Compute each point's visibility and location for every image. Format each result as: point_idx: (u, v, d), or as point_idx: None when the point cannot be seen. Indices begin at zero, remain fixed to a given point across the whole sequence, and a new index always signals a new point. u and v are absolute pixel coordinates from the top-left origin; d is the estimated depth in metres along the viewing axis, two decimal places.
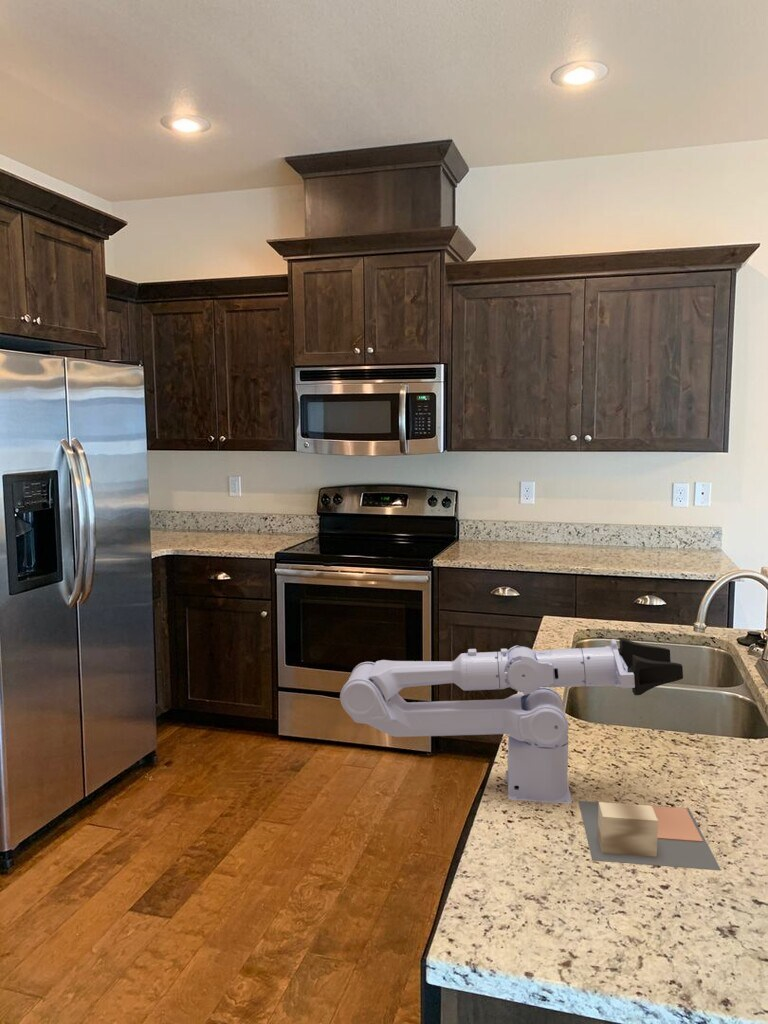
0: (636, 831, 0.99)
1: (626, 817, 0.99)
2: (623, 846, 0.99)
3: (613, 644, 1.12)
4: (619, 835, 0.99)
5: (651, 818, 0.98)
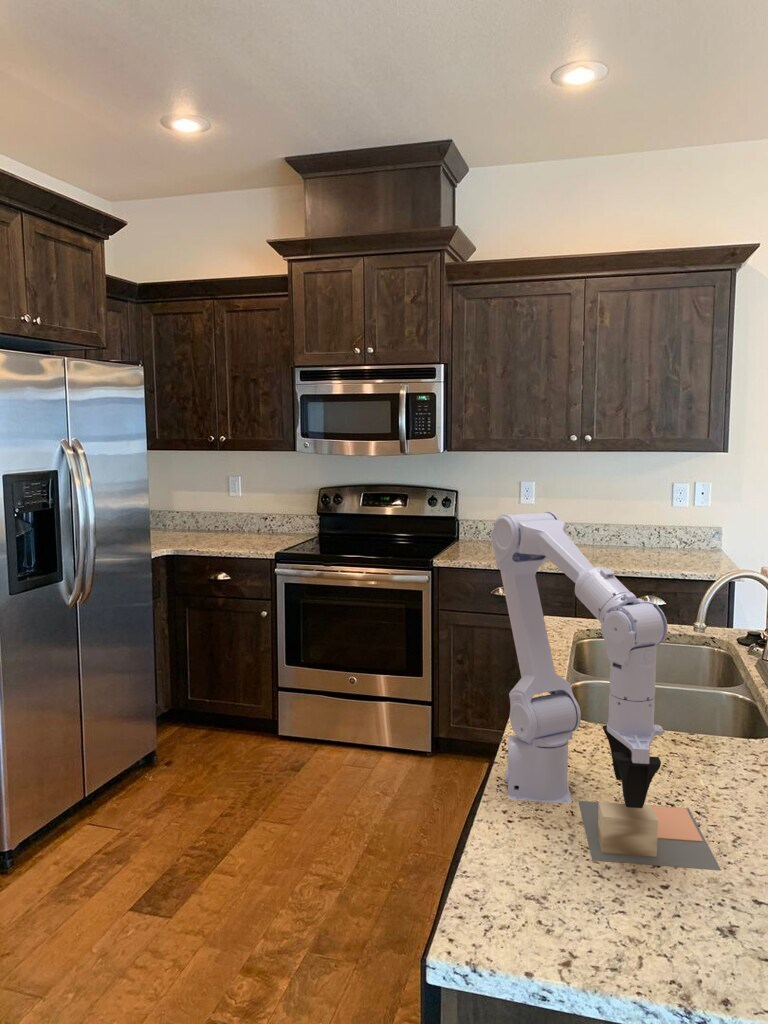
0: (636, 831, 0.99)
1: (626, 817, 0.99)
2: (623, 846, 0.99)
3: (660, 731, 0.98)
4: (619, 835, 0.99)
5: (651, 818, 0.98)
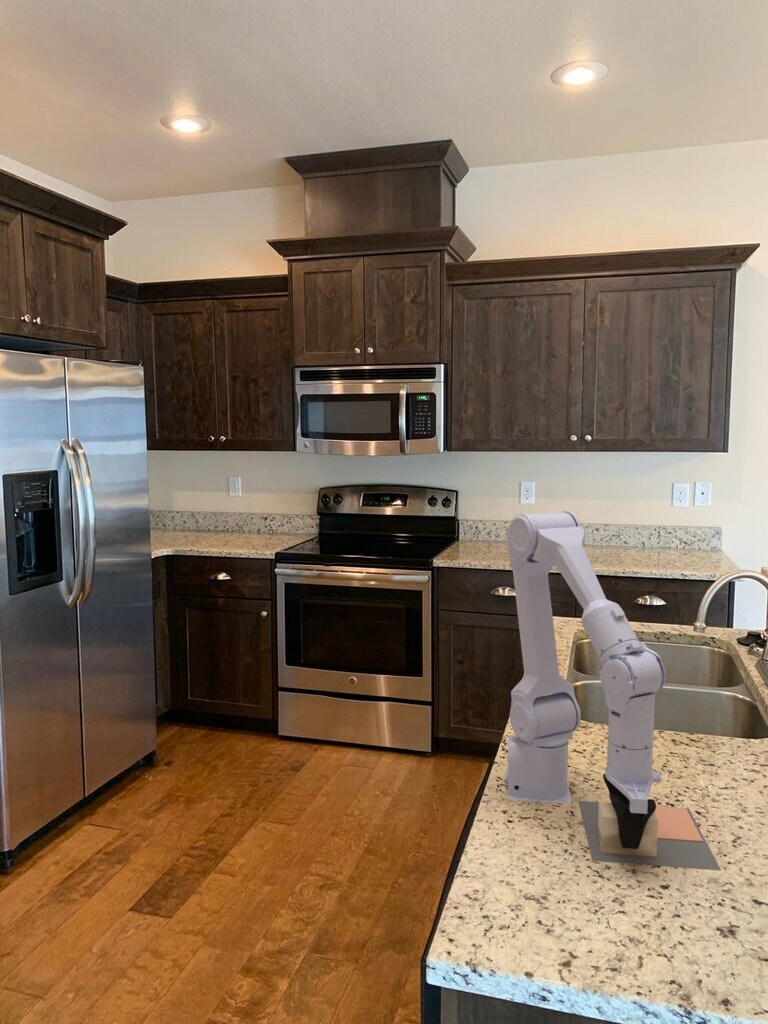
0: None
1: None
2: None
3: (658, 779, 0.98)
4: None
5: (651, 818, 0.98)
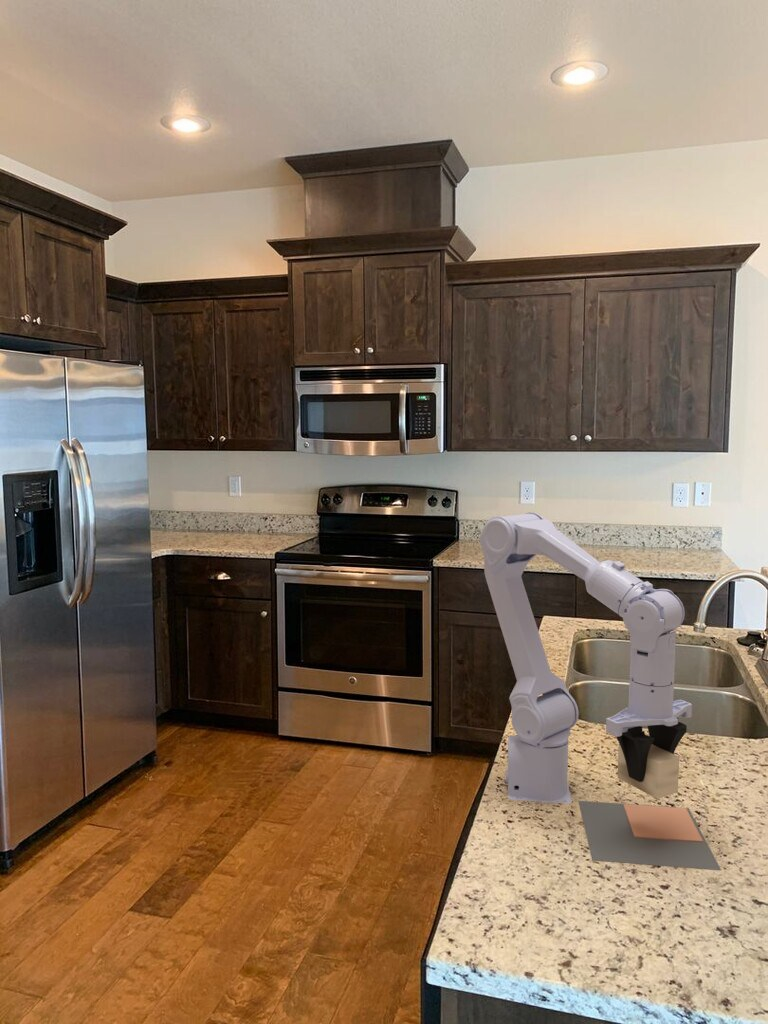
0: None
1: None
2: None
3: (666, 722, 0.99)
4: None
5: (656, 760, 1.00)
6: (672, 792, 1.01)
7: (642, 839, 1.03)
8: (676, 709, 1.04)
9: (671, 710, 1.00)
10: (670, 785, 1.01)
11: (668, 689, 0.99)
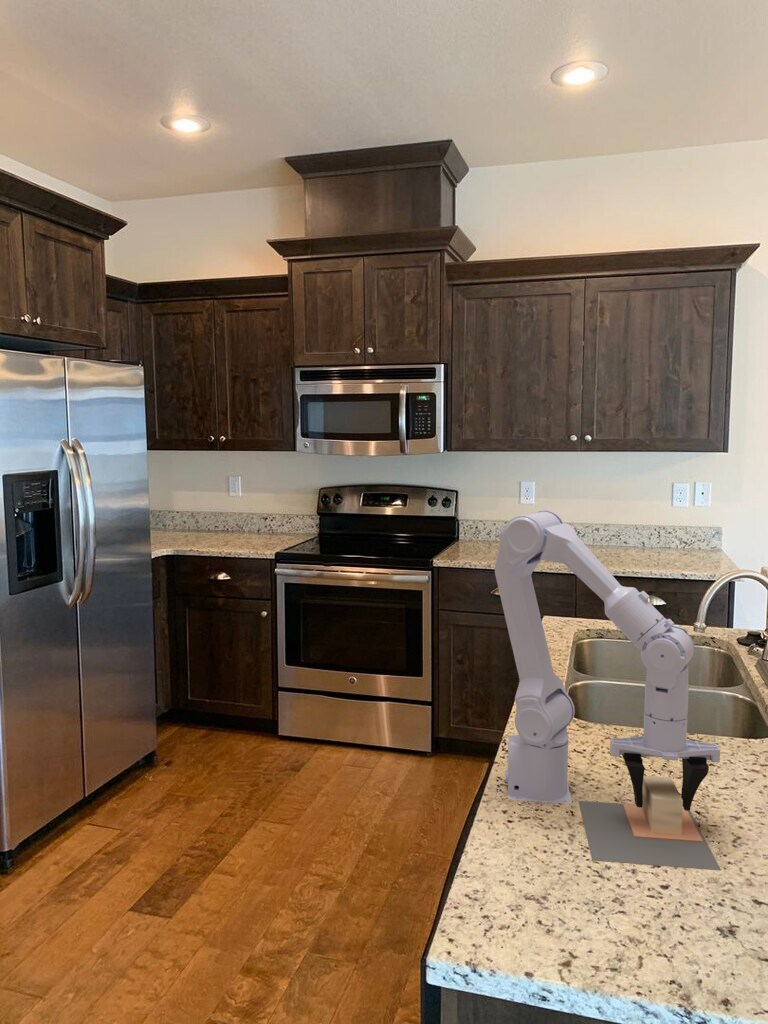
0: (648, 800, 1.06)
1: (649, 785, 1.07)
2: (645, 810, 1.08)
3: (662, 755, 1.02)
4: (645, 798, 1.09)
5: (654, 796, 1.04)
6: (673, 832, 1.04)
7: (642, 839, 1.03)
8: (697, 750, 1.04)
9: (676, 746, 1.03)
10: (670, 825, 1.04)
11: (670, 724, 1.03)
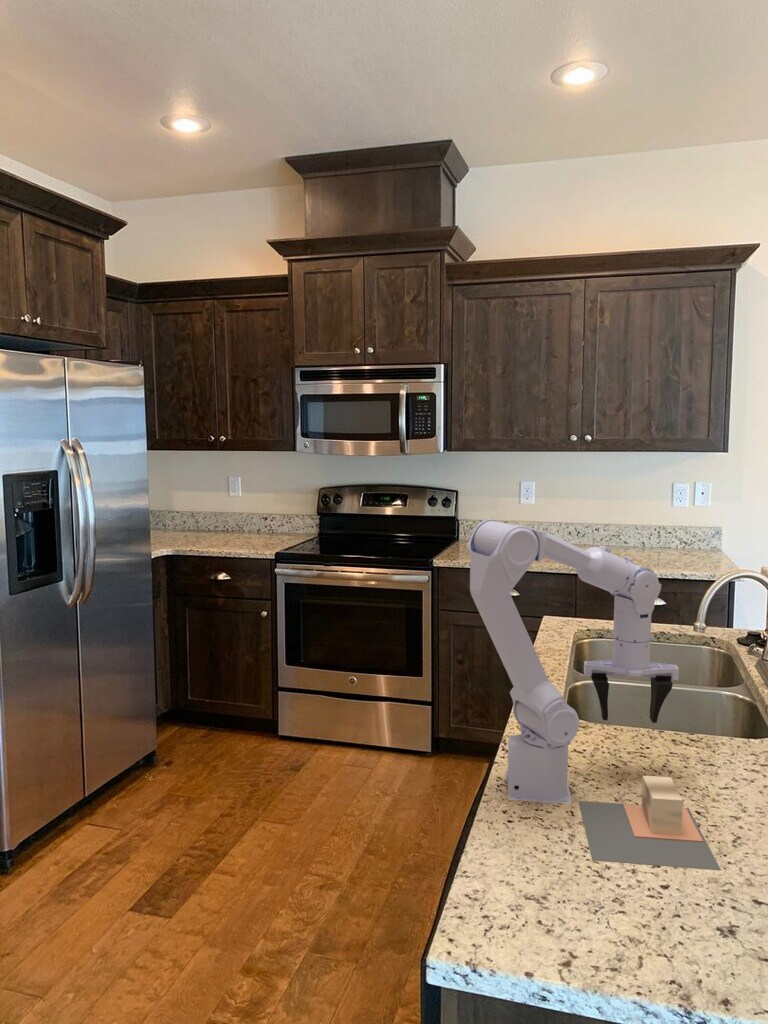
0: (648, 800, 1.06)
1: (649, 785, 1.07)
2: (645, 810, 1.08)
3: (628, 672, 1.18)
4: (645, 798, 1.09)
5: (654, 796, 1.04)
6: (673, 832, 1.04)
7: (642, 839, 1.03)
8: (659, 669, 1.20)
9: (640, 665, 1.18)
10: (670, 825, 1.04)
11: (635, 646, 1.18)
